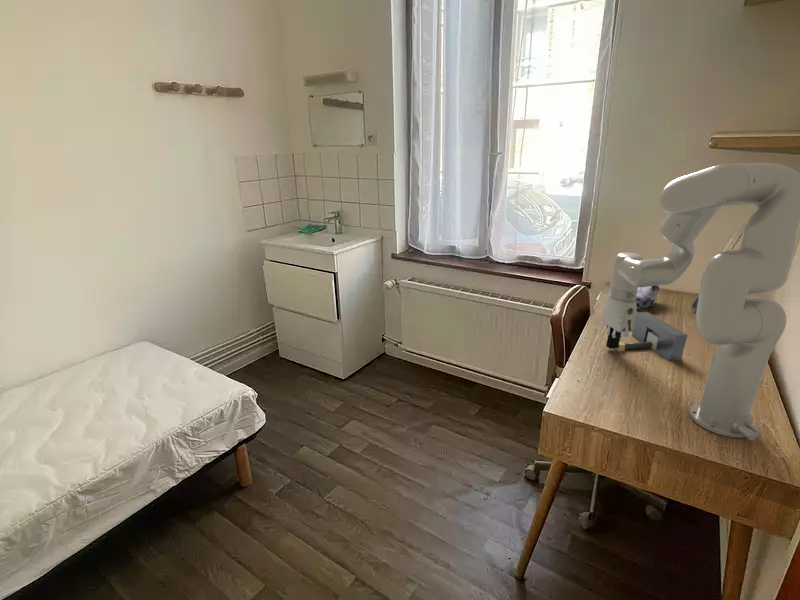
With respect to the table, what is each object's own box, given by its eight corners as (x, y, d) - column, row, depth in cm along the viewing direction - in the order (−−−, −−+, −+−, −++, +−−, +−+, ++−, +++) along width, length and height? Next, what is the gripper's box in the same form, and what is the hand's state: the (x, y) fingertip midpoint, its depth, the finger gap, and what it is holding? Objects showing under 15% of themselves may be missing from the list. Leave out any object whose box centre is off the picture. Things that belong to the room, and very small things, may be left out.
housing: (681, 359, 134) (687, 334, 131) (669, 360, 133) (675, 335, 130) (642, 334, 150) (647, 312, 147) (631, 335, 150) (636, 312, 147)
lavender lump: (666, 304, 177) (671, 281, 174) (645, 314, 168) (650, 289, 164) (641, 297, 185) (646, 275, 181) (620, 306, 175) (625, 283, 171)
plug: (667, 349, 140) (670, 336, 139) (620, 352, 138) (622, 340, 136) (658, 343, 144) (661, 330, 143) (611, 346, 142) (614, 333, 141)
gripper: (650, 301, 127) (638, 357, 133) (618, 284, 140) (608, 336, 147) (626, 303, 125) (615, 359, 132) (597, 286, 139) (588, 338, 146)
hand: (612, 347), depth 139 cm, fingers closed
